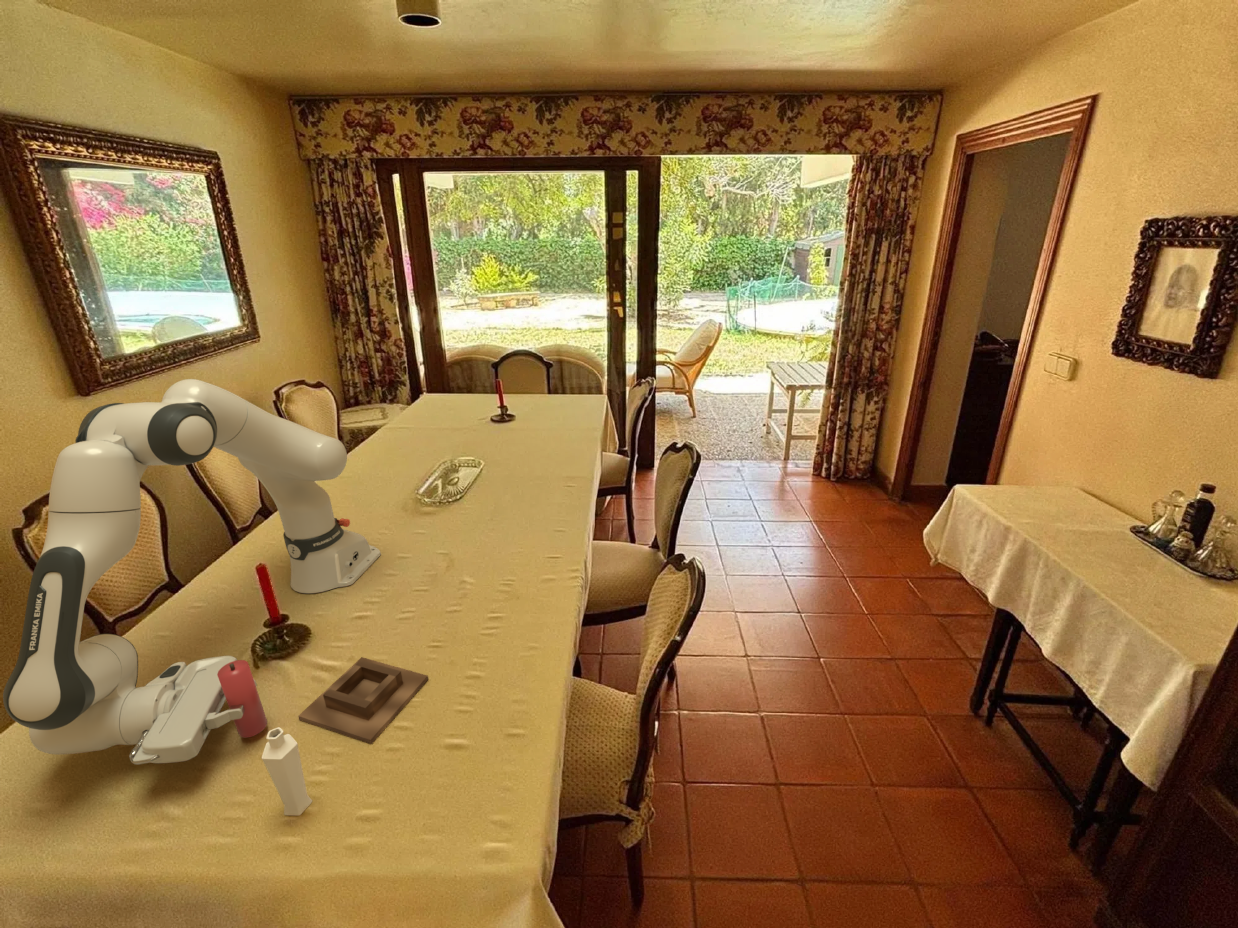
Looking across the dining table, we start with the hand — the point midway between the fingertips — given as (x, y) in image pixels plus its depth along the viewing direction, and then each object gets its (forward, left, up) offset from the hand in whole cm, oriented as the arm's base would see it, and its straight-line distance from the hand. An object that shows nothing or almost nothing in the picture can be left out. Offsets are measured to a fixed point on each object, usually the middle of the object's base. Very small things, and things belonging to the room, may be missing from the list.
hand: (249, 697), depth 99 cm
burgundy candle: (0, -1, -7) cm, 7 cm away
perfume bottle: (+9, +17, -8) cm, 21 cm away
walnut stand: (-12, +12, -8) cm, 19 cm away
